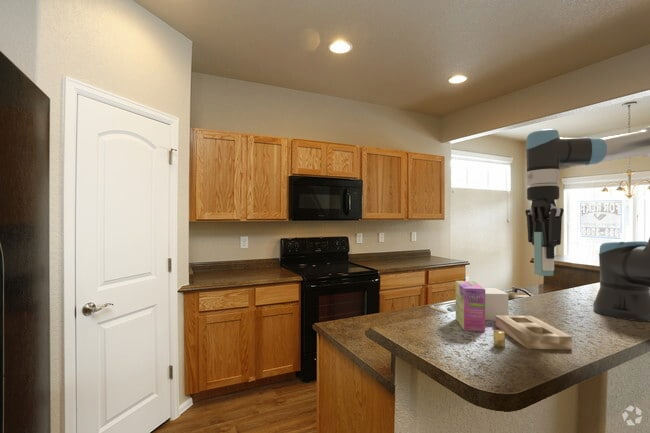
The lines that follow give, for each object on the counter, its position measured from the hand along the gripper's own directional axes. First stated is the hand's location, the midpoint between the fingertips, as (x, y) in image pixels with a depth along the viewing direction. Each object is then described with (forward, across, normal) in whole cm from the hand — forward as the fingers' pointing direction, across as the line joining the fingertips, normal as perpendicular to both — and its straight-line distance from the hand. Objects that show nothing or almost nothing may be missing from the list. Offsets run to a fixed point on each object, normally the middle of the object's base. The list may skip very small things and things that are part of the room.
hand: (543, 269), depth 89 cm
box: (+17, -2, -20) cm, 26 cm away
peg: (+2, 0, 0) cm, 2 cm away
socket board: (+16, +7, -8) cm, 20 cm away
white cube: (+16, -10, -11) cm, 22 cm away
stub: (+16, +14, -19) cm, 29 cm away
